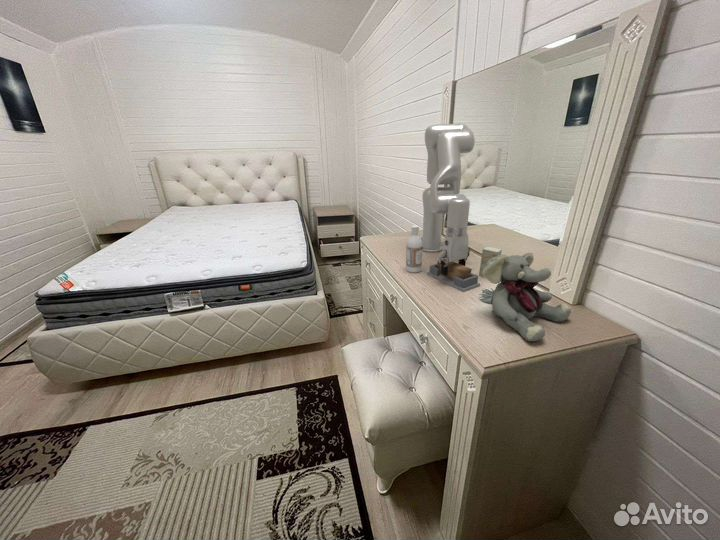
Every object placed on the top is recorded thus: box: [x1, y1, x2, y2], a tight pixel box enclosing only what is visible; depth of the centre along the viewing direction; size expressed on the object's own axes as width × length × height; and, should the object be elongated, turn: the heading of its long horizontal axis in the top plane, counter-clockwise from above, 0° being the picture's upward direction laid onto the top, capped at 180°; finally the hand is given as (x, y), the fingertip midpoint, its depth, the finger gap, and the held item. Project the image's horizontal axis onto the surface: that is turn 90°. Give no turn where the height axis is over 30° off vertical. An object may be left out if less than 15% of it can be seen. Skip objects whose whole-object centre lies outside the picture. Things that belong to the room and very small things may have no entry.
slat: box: [436, 260, 472, 281], centre depth 118 cm, size 14×4×6 cm, turn 30°
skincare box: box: [478, 246, 503, 279], centre depth 119 cm, size 6×4×12 cm
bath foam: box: [405, 225, 424, 273], centre depth 127 cm, size 7×7×20 cm
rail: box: [426, 263, 481, 293], centre depth 119 cm, size 20×9×4 cm, turn 30°
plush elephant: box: [478, 252, 572, 342], centre depth 91 cm, size 27×22×21 cm
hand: (452, 271), depth 119 cm, fingers open, 9 cm apart
